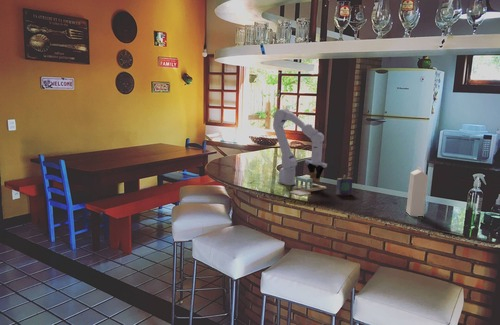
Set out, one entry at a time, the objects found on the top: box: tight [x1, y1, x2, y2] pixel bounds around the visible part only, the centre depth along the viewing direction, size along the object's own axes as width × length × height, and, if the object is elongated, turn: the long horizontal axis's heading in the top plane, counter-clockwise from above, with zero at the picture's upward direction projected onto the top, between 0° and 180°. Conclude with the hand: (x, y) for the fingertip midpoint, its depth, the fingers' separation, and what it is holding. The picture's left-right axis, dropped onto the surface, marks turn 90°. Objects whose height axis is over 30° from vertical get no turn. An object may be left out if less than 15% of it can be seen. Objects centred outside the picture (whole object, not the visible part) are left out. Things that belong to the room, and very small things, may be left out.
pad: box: [289, 189, 312, 197], centre depth 210 cm, size 8×8×1 cm
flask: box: [335, 174, 354, 197], centre depth 211 cm, size 9×3×11 cm, turn 109°
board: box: [292, 183, 327, 193], centre depth 222 cm, size 10×16×1 cm, turn 129°
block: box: [309, 171, 321, 183], centre depth 224 cm, size 4×4×5 cm
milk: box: [405, 165, 429, 217], centre depth 178 cm, size 6×6×22 cm
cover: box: [294, 175, 314, 189], centre depth 219 cm, size 8×5×6 cm, turn 39°
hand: (314, 177), depth 224 cm, fingers closed on block, 4 cm apart
